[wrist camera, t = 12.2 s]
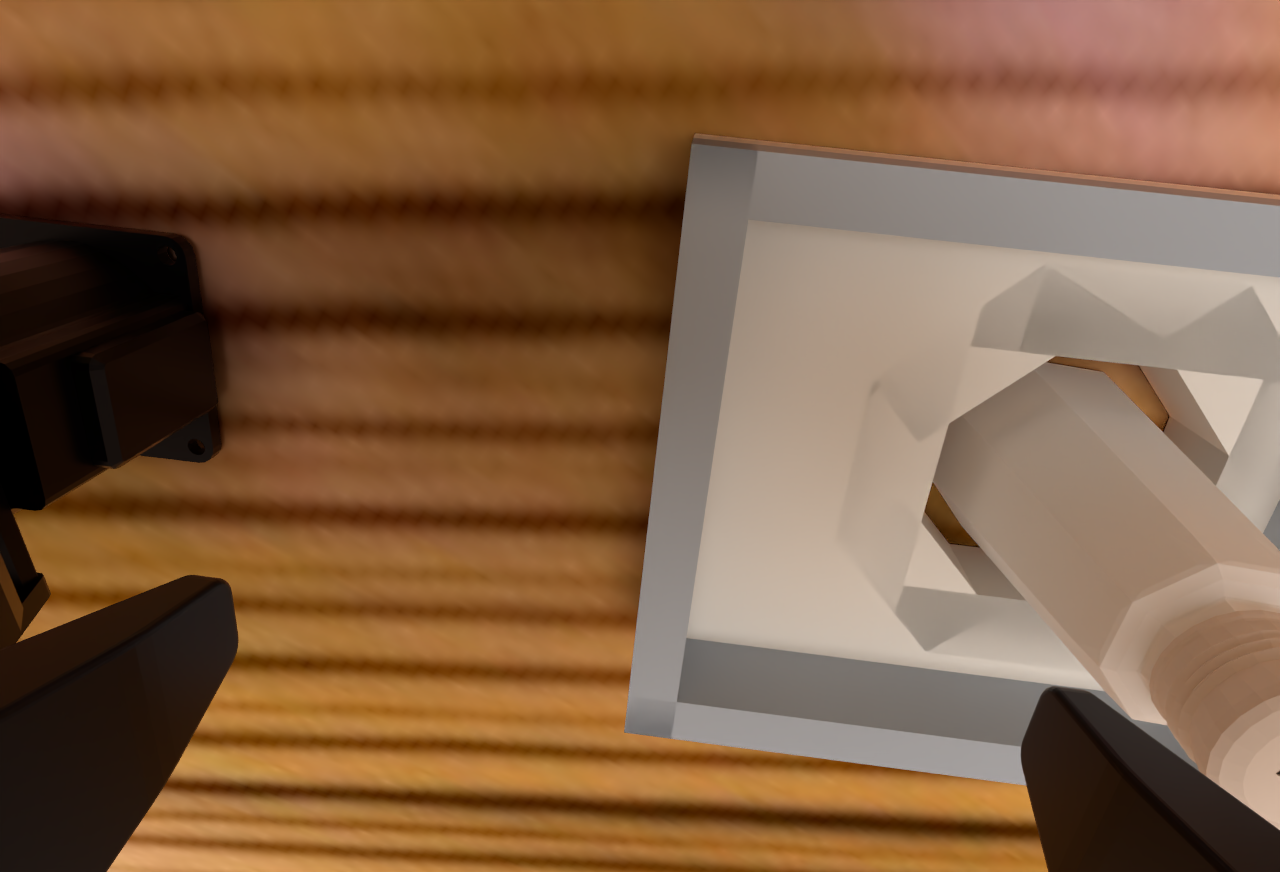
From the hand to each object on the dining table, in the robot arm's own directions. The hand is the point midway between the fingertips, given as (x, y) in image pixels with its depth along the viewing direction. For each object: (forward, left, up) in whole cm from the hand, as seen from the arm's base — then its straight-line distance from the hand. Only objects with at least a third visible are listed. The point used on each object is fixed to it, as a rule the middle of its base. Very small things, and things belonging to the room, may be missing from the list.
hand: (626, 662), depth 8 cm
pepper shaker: (+10, -2, -13) cm, 17 cm away
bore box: (+8, -2, -13) cm, 15 cm away
